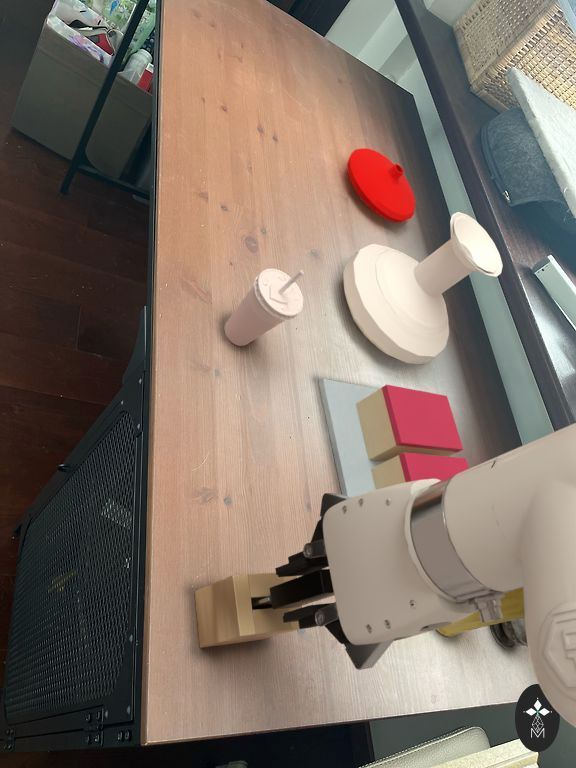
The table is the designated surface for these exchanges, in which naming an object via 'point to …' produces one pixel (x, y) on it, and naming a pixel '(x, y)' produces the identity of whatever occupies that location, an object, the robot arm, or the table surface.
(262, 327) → the smoothie
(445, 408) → the cake
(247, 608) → the knife block
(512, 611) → the vase
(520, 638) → the salt shaker
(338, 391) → the cake plate
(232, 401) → the table surface
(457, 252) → the candle holder
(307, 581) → the knife
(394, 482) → the cake slice
